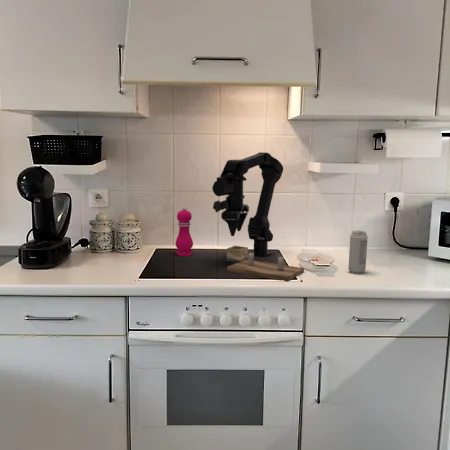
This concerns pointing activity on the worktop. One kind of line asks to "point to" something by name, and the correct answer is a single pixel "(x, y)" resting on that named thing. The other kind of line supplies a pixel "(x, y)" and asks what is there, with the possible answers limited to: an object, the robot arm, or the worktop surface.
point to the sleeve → (237, 253)
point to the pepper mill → (184, 233)
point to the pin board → (266, 269)
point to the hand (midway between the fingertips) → (235, 233)
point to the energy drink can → (358, 252)
